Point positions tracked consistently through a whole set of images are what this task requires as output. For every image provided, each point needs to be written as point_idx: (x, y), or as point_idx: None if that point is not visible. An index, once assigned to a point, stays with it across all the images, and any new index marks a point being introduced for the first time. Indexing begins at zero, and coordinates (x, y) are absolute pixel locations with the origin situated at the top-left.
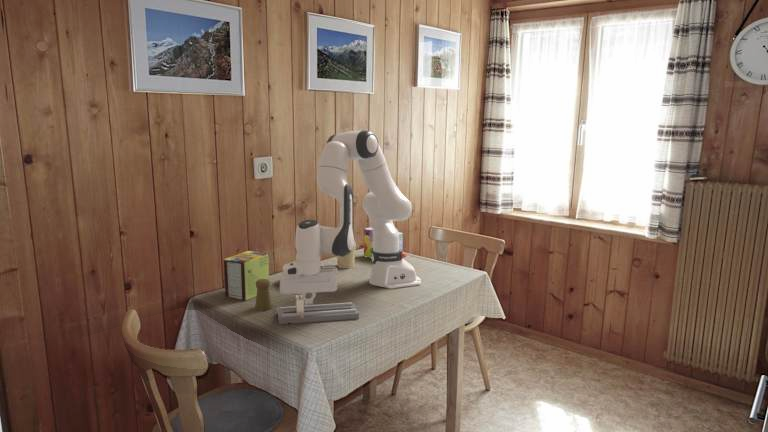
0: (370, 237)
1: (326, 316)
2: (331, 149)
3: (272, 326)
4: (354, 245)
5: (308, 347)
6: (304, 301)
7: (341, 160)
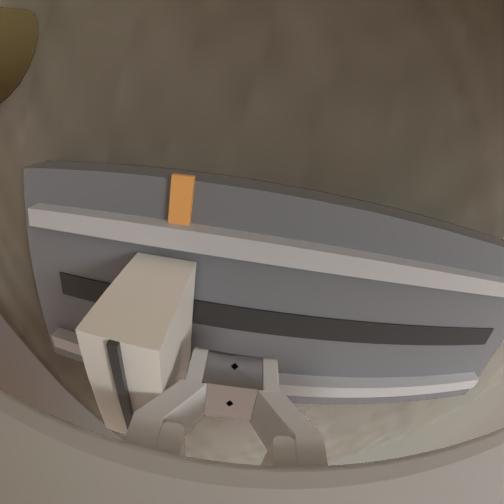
0: None
1: (324, 399)
2: None
3: (48, 338)
4: None
5: None
6: (191, 359)
7: None
